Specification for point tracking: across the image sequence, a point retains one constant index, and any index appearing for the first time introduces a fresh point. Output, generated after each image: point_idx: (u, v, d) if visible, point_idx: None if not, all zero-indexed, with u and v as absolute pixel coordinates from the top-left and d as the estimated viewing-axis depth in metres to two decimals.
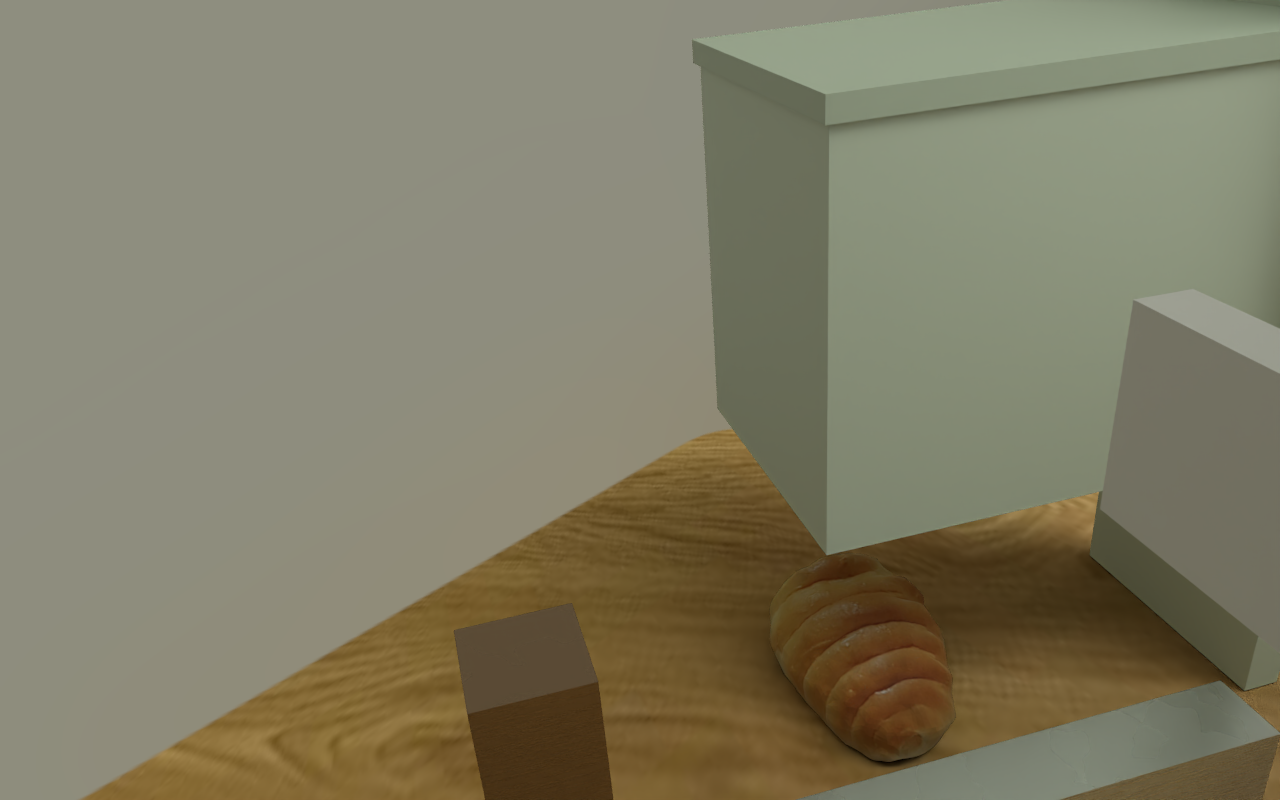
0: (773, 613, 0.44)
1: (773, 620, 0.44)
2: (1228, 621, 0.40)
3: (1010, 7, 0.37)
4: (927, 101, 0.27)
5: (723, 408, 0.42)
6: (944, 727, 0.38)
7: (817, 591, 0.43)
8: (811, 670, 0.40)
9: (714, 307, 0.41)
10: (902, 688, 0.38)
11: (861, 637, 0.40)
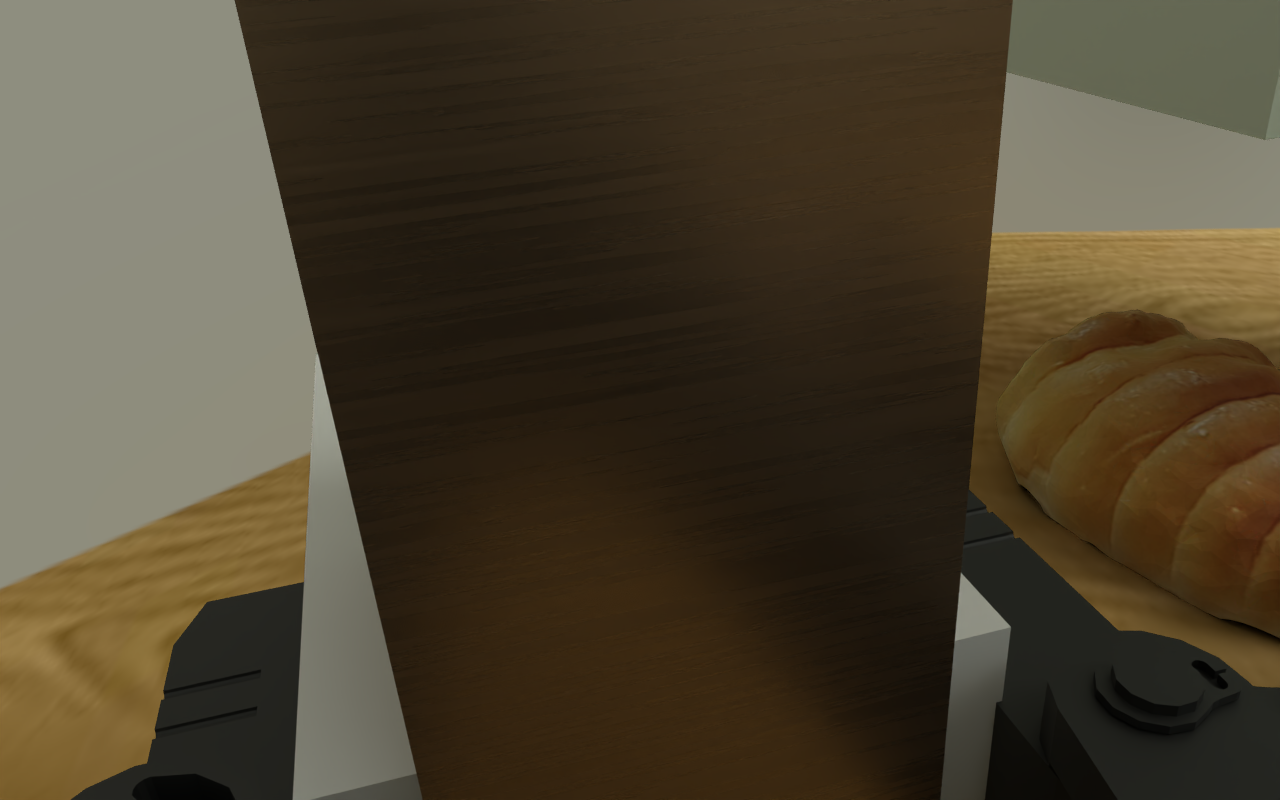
0: (1008, 416, 0.25)
1: (1011, 426, 0.25)
2: None
3: None
4: None
5: None
6: None
7: (1101, 363, 0.24)
8: (1133, 485, 0.21)
9: None
10: None
11: (1227, 417, 0.21)
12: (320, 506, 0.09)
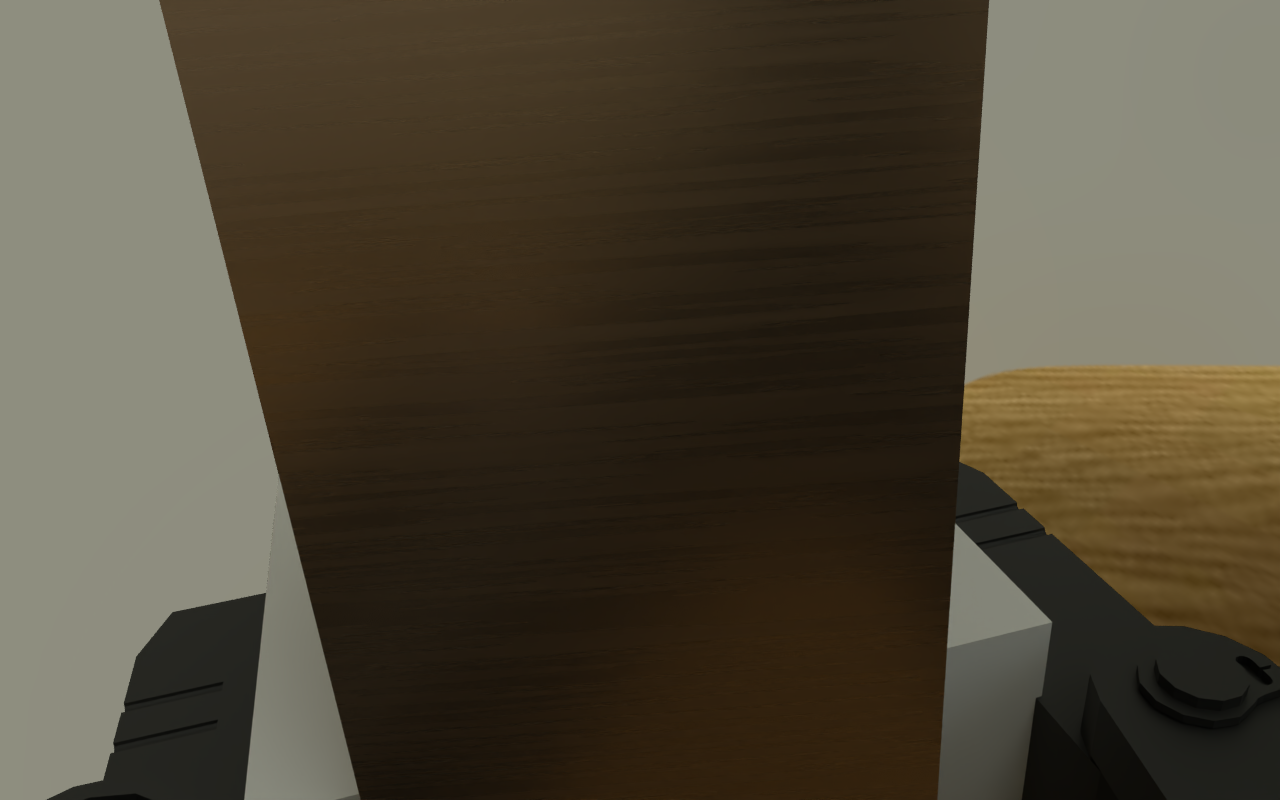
0: None
1: None
2: None
3: None
4: None
5: None
6: None
7: None
8: None
9: None
10: None
11: None
12: (286, 515, 0.08)
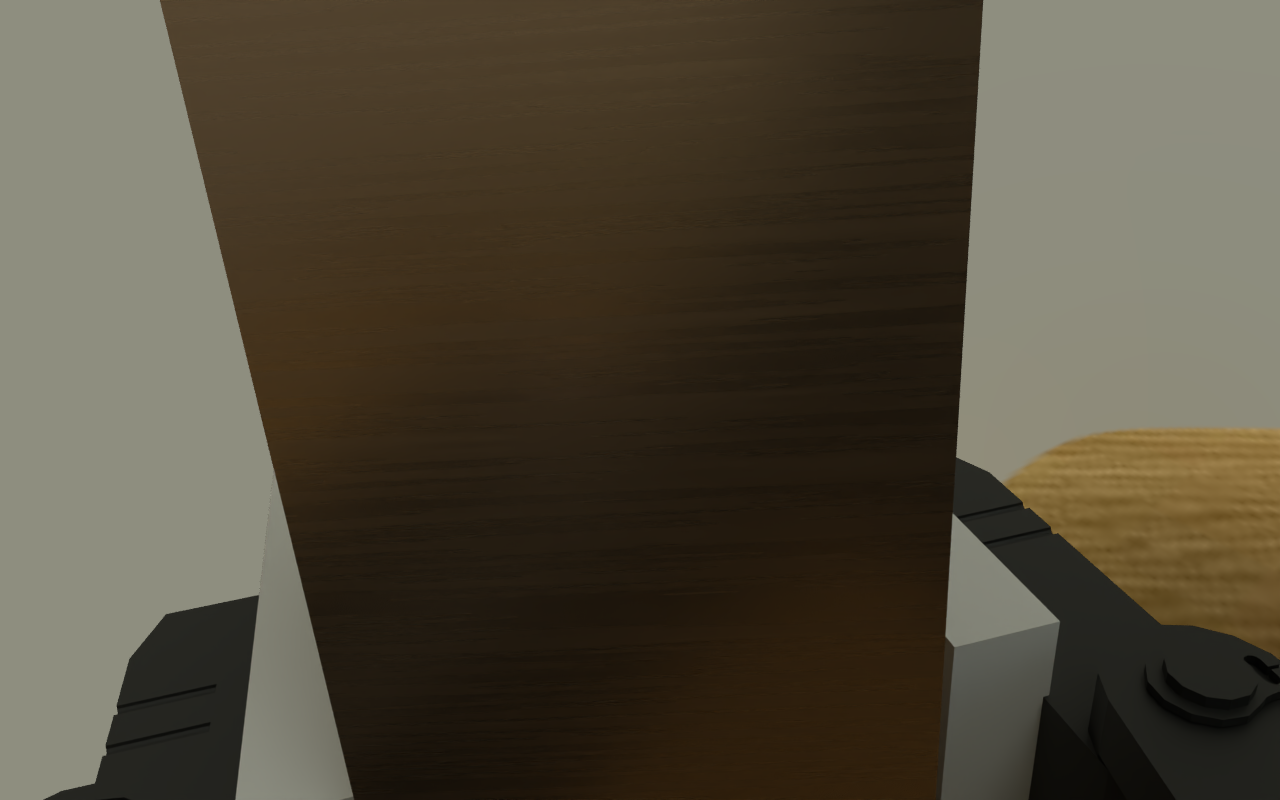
0: None
1: None
2: None
3: None
4: None
5: None
6: None
7: None
8: None
9: None
10: None
11: None
12: (280, 517, 0.08)
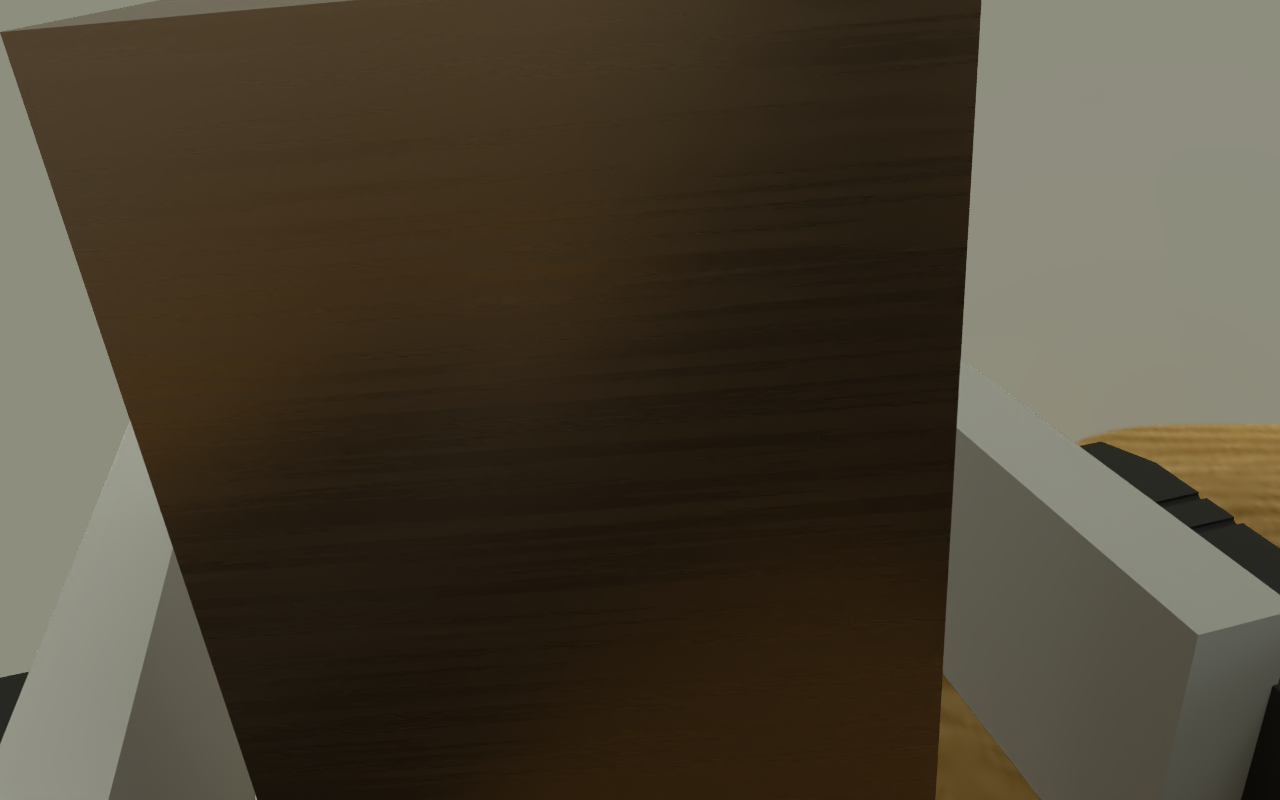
0: None
1: None
2: None
3: None
4: None
5: None
6: None
7: None
8: None
9: None
10: None
11: None
12: (78, 582, 0.08)
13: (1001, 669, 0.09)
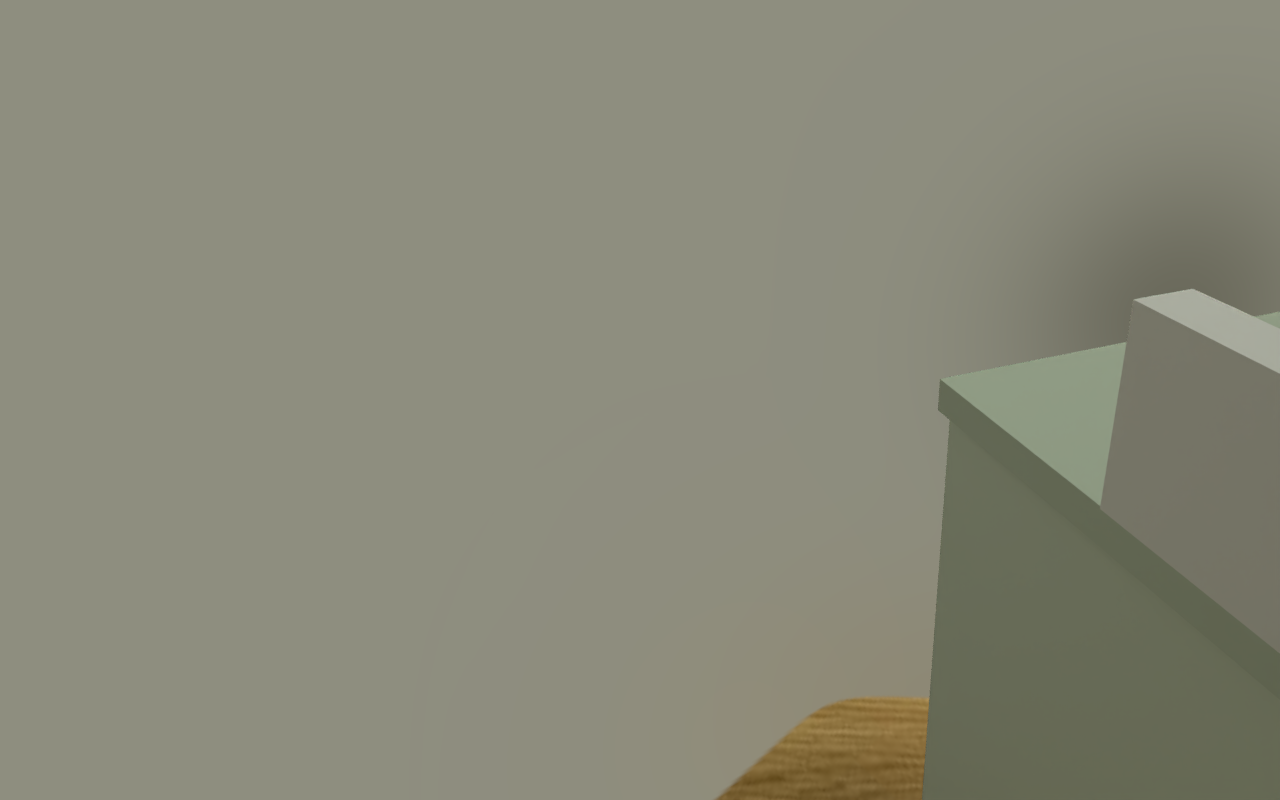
0: None
1: None
2: None
3: None
4: None
5: None
6: None
7: None
8: None
9: (932, 719, 0.28)
10: None
11: None
12: None
13: None
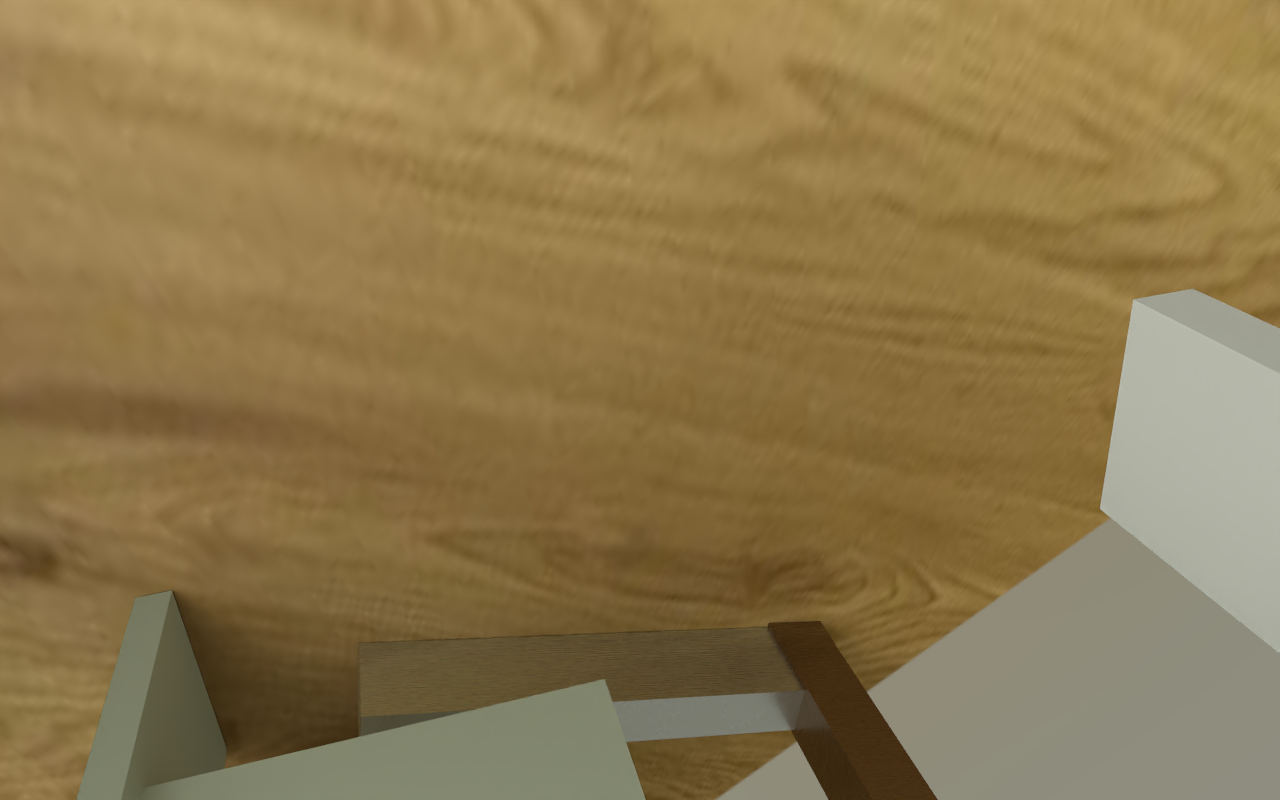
0: None
1: None
2: (173, 649, 0.43)
3: None
4: None
5: None
6: None
7: None
8: None
9: None
10: None
11: None
12: None
13: None
